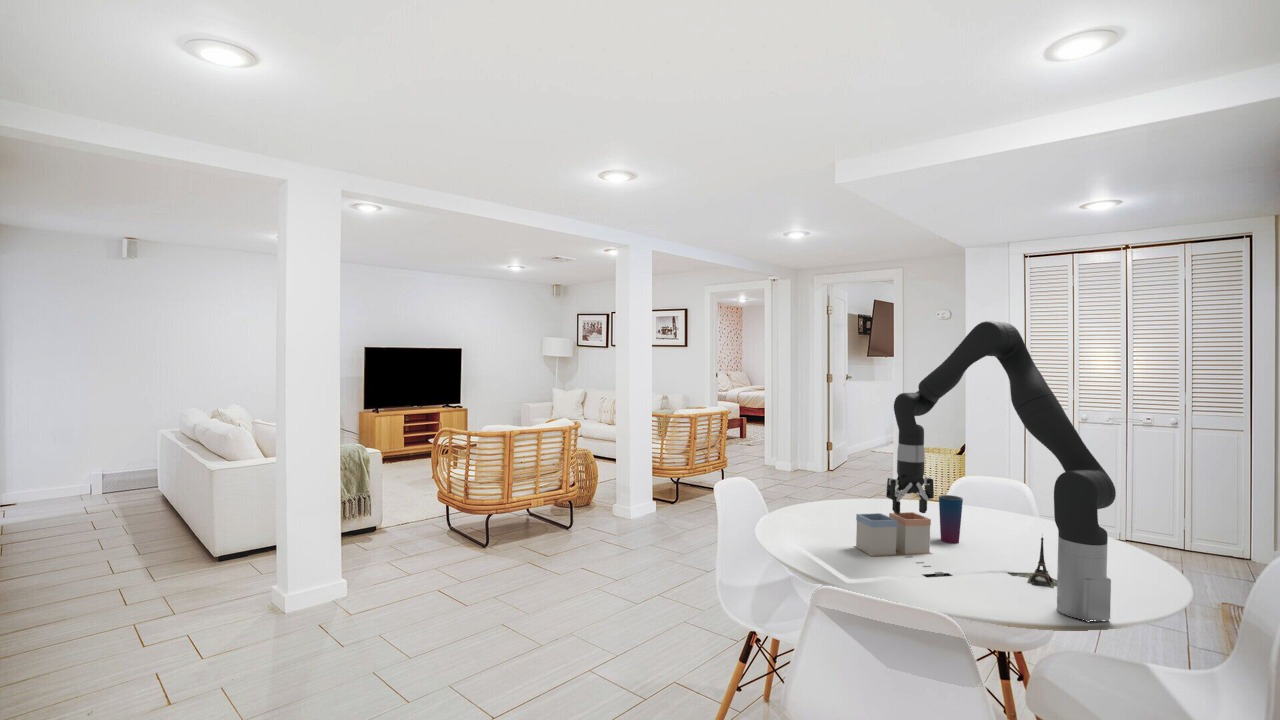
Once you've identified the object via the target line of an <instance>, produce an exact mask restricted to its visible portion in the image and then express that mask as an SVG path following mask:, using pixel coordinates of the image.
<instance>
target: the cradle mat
mask: <svg viewBox="0 0 1280 720" xmlns="http://www.w3.org/2000/svg"><path fill="white" fill-rule="evenodd" d="M905 558H908V559H909V558H913V555H908V556H905ZM915 563H916V564H925V562H924V561H922V562H921V561H918V562H917V561H916V562H915ZM922 567H923V568H931V567H932V565H922ZM921 576H923V577H925V578H940V577H954V575H953V574H950V573H948V572H943V571H935V572H933V573H927V574H926V573H925V574H921Z"/></svg>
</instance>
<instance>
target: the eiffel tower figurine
mask: <svg viewBox="0 0 1280 720" xmlns="http://www.w3.org/2000/svg"><path fill="white" fill-rule="evenodd" d="M1044 540H1045V539H1044V537H1043V533H1041V538H1040V549H1039V550H1040V552H1039V561H1038V562H1037V567H1036V568H1035V570H1034V572H1013V571H1009V572H1007V574H1009V575H1010V576H1011V577H1019V578H1025V579H1027V583H1026V584H1030V585H1032V586H1034V587H1035V586H1036V587H1038V586H1039V587H1045V588H1049V589H1054V588H1055V587H1057V578H1053V577H1052V576H1051V575H1050V574H1049V570H1048V569H1047V567H1046V562H1045V555H1044V554H1045V553H1044V551H1045V550H1044ZM1041 567H1042V569H1041Z"/></svg>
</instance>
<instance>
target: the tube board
mask: <svg viewBox="0 0 1280 720" xmlns="http://www.w3.org/2000/svg"><path fill="white" fill-rule="evenodd" d="M852 547H854V548H855V549H856V550H857V551H860V552H862V553H863V554H865V555H867V556H869V557H871V558H879V557H880V558H881V557H899V556H900V557H901V556H902V557H903V556H904V557H905V556H921V555H923V556H925V555H933V553H932V552H930V553H918V554H904V553H902V552H900V551H898V550H896V555H876V556H871V555H869V554H867V553H865V552H864V551H862V550H860V549H858V548H857V547H856V545H853V546H852Z"/></svg>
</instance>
